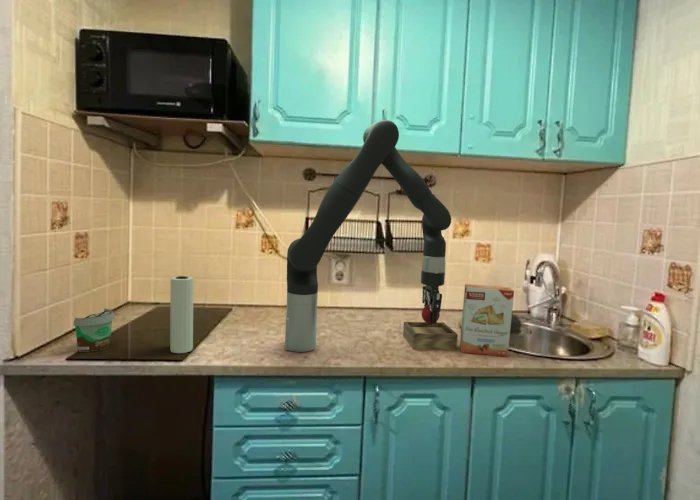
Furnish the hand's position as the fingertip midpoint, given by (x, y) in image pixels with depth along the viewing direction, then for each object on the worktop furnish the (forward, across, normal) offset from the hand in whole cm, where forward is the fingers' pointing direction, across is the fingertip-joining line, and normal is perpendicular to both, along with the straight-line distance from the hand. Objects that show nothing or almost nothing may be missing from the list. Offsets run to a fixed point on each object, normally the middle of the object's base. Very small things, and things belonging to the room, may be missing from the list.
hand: (430, 320), depth 142 cm
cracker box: (+8, +9, +15) cm, 19 cm away
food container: (+8, +8, -99) cm, 100 cm away
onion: (+2, 0, 0) cm, 2 cm away
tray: (+7, 0, 0) cm, 7 cm away
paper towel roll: (+8, +9, -76) cm, 77 cm away
